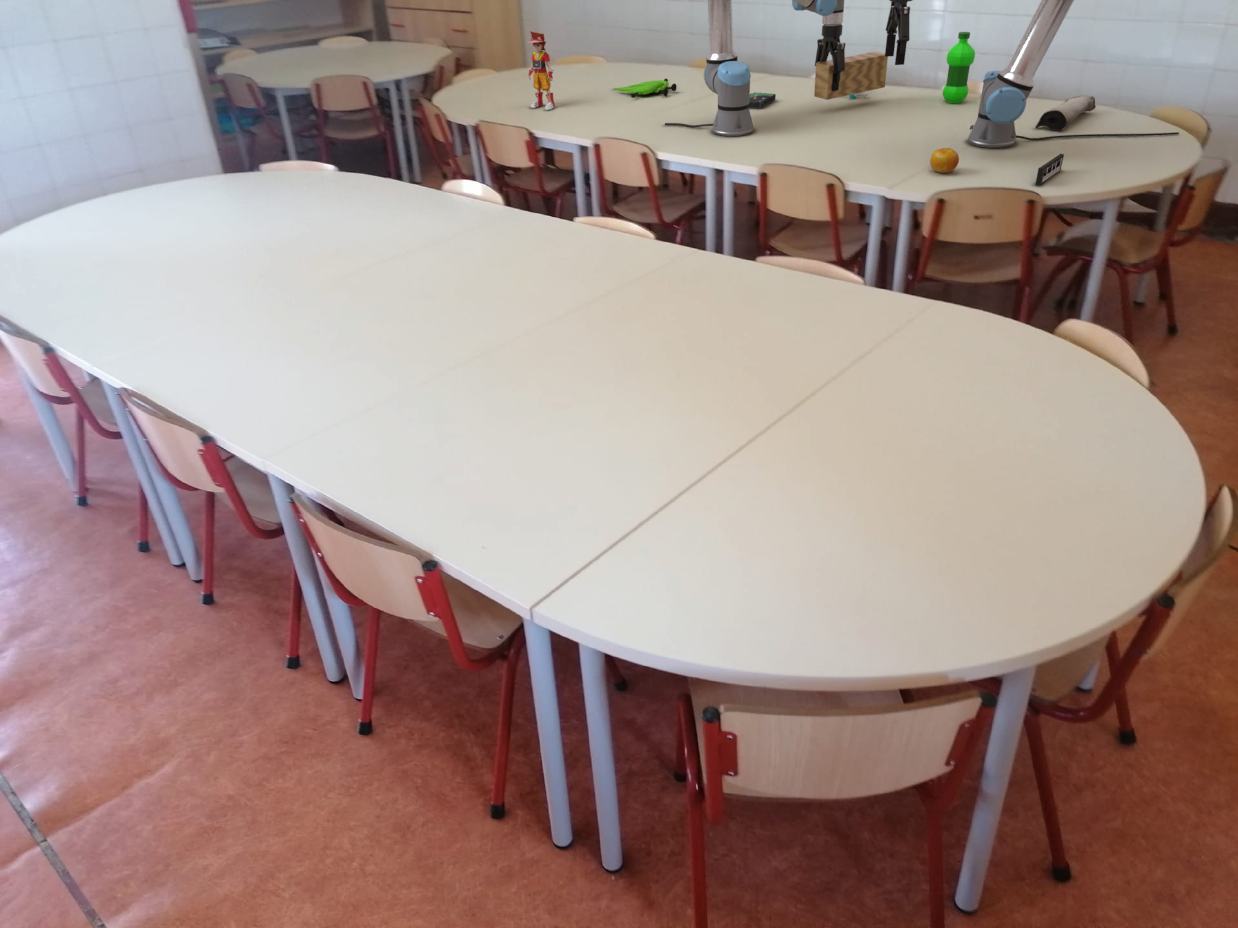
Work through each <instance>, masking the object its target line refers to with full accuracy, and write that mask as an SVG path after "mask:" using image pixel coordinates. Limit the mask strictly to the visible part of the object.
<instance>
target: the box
mask: <svg viewBox="0 0 1238 928" xmlns="http://www.w3.org/2000/svg"><path fill="white" fill-rule="evenodd" d="M888 61H889V56H888V57H885V52H880V51H870V52H865V53H860V54H854V55H850V56H845V71H842V72H841V73H840V82H839V90H837V91H832V80H833V72H835V71H834V65H833V60H832V59H831V60H827V61H825V62H818V63H816V67H815V74H814V75H815V77H814V93H813V97H815V98H818V99H823V100H826V101H827V100H832V99H837V98H842V97H846V96H849V95H851V94H856V93H861V92H864V93H866V92H869V91H874V90H879V89H883V88H886V79H887V70H888ZM837 69H838V68H837Z"/></svg>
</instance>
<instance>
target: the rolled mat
mask: <svg viewBox="0 0 1238 928" xmlns="http://www.w3.org/2000/svg"><path fill="white" fill-rule="evenodd" d="M1096 107H1097V106H1096V98H1095V96H1094V95H1085V94H1084V95H1077V96H1071V97H1068V98H1066V99H1065V101H1064V102H1062V103H1060V104H1059V105H1056V106H1054V107H1052V108H1051V109H1049V110H1047V111H1045V112H1044V113H1043V114H1042V115H1041V116H1040V118H1039V120H1038V122H1037V124H1036V125H1035V129H1038V128H1041V127H1046V128H1048V130H1052V131H1056V132H1057V131H1058V132H1062V131H1063V130H1065V129H1066V128H1067V127H1068V126H1069V125H1070V124H1071V123H1072V122H1073V120H1075V119H1076V118H1077V117H1079V116H1080V115H1081V114H1082V113H1087V112H1092V111H1094V110H1095V109H1096Z"/></svg>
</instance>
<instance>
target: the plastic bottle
mask: <svg viewBox="0 0 1238 928" xmlns="http://www.w3.org/2000/svg"><path fill="white" fill-rule="evenodd" d="M970 36H971V32H970V31H959V32H958V36H957V39H958V42H957V43H956V44H954V45H953V46H952V47H951V48H950V49H949V50H948V52H947V54H946V63H947V64H948V69H947V70H948V71H947V76H946V77H947V78H946V84H945V85H944V87H943V90H942V97H943V99H944V100H945V101H946V102H947V103H948V104H960V103H961V102H963V101H964V100H966V98H967V96H968V95H969V85H968V79H969V73H970V67H971V65H972V64H973V63H974V61H975V57H976V51H975V49H974V47H972V45H971V44H970V43H969V42H968V41H969V39H970V38H971V37H970Z"/></svg>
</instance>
